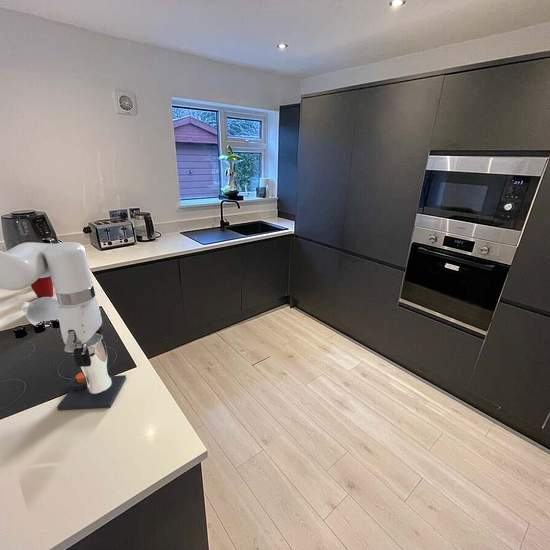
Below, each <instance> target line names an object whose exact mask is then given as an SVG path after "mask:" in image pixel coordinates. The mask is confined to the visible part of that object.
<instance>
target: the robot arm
mask: <svg viewBox="0 0 550 550" xmlns="http://www.w3.org/2000/svg"><path fill="white" fill-rule="evenodd" d="M46 273H50V276H51V279H52V283H53V291H54V294H55V296H56V297H55V298H56V300H58V304H59V305H60V306H59V307H58V316H59V320H58V322H59V329H60V333H61V338H62V341H63V343H64V349H63V351H64V352H65V353H68V354H69V355H71V356H73V358H74V361H75V365H76V367H77V368H79V367H87V366H90V365H91V361H90V357H89V353H88V352H86V342H87V341H88V340H89V339H90V338H91V337H92V336H93V335H94V333H99V334H101V335H102V337H103V340H104V343H105V344H106V342H105V337H104V334H103V333H104V329H103V317H104V314H103V313H101V309H100V305H99V303H98V299H97V295H96V292H95V286H94V282H93V278H92V274H91V269H90V264H89V260H88V256H87V252H86V248H85V246H84V245H83V244H81V243H80V242H75V241H63V242H58V243H49V242H48V243H46V242H33V241H32V242H31V241H30V242H22V243H19V244H17V245H14V247H12V248H9V249H8V250H7V251H2V250H0V289H1V290H8V291H9V290H10V291H18V290H19V291H20V290H24V289H26V288H29V287H31V285H32V284H33V283H34V282H35V281H36V280H37V279H38V278H39V277H40V276H42V275H44V274H46ZM76 339H79V340H81V341H76ZM77 344H81V349H79V348H77Z"/></svg>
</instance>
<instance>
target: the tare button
mask: <svg viewBox="0 0 550 550" xmlns="http://www.w3.org/2000/svg"><path fill="white" fill-rule="evenodd" d="M75 376H76V380H77V382H78V383H83V382H86V379H85V377H84V375H83V373H82V372H81V371H80V372H79V373H77V374H76V375H75Z"/></svg>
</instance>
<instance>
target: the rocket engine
mask: <svg viewBox="0 0 550 550" xmlns="http://www.w3.org/2000/svg"><path fill="white" fill-rule="evenodd" d="M59 306H60V305H59V304H58V300H57V298H54V297H42V298H38V297H37V298H36V299H34V300H32V301H31V302H28V301H24V302H23V305H21V307H20V309H21V310H22V312H24V313H25V317H26V320H27V321H28V322H29V323H30V324H31V325H33V326H34V327H37V326H36V324H38V323H40V322H43V321H45V322H46V321H50V320H56V319H58V321H59V316H58V307H59ZM50 324H51V323H50ZM47 327H50V325H45V327H44V328H47Z"/></svg>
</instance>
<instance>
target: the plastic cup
mask: <svg viewBox="0 0 550 550" xmlns="http://www.w3.org/2000/svg"><path fill="white" fill-rule="evenodd" d="M30 287H31V288H32V290H33V293H34V294H35V295H36V297H37V299H38V298H42V297H51V298H53V296H54V286H53V283H52V279H51V276H50V273H46V274H44V275H42V276H40V277H39V278H38V279H37V280H36V281H35V282H34V283H33V284H32V285H30Z"/></svg>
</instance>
